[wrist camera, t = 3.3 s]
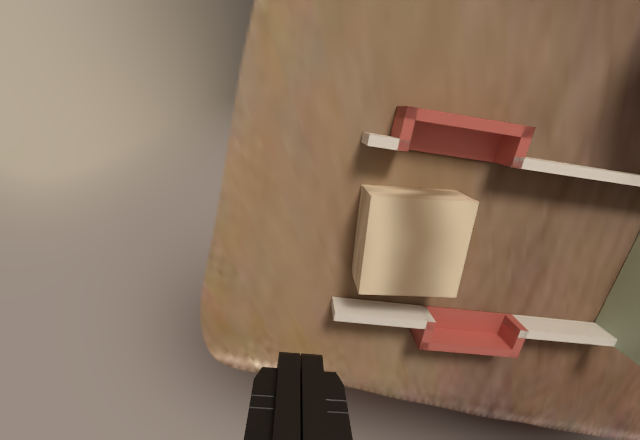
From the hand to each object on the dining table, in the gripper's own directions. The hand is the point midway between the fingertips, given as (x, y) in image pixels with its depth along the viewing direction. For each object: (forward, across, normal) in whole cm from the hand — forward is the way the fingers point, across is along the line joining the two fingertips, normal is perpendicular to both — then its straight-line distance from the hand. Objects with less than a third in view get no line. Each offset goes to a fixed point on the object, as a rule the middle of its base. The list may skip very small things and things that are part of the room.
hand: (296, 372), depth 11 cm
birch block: (+17, -9, 0) cm, 19 cm away
